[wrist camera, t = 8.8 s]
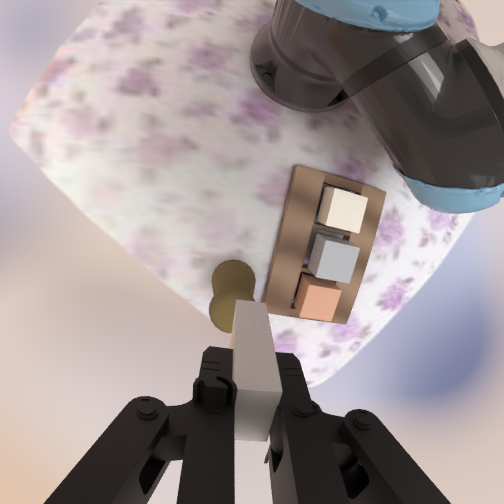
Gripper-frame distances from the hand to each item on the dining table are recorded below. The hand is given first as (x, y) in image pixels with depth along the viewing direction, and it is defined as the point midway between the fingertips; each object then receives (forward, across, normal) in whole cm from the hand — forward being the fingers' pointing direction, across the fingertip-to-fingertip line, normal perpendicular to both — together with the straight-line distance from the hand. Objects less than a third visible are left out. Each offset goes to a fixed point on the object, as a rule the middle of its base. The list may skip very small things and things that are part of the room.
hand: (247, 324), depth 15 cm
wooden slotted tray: (+25, +11, -1) cm, 27 cm away
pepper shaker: (+25, 0, -7) cm, 26 cm away
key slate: (+22, +11, -1) cm, 24 cm away
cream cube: (+23, +12, +5) cm, 26 cm away
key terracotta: (+23, +11, -7) cm, 26 cm away
